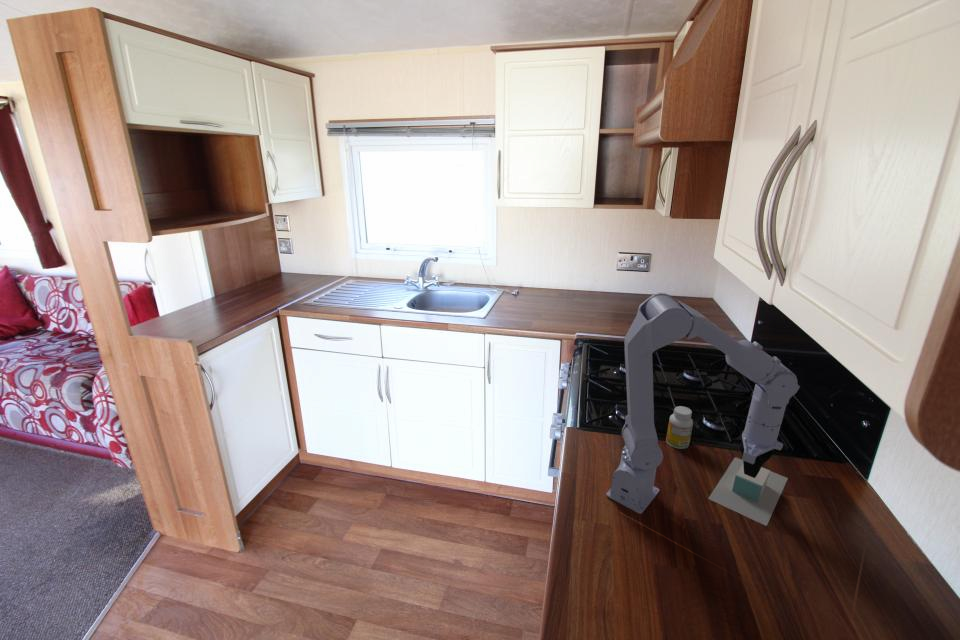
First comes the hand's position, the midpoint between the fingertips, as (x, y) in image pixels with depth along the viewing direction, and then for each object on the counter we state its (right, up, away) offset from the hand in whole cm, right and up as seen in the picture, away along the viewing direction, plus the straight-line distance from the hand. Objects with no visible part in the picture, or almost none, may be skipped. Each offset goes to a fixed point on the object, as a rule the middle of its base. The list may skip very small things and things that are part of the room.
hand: (750, 474), depth 95 cm
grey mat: (+2, -5, +5) cm, 7 cm away
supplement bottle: (-7, +1, +20) cm, 21 cm away
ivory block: (0, -4, +1) cm, 4 cm away
